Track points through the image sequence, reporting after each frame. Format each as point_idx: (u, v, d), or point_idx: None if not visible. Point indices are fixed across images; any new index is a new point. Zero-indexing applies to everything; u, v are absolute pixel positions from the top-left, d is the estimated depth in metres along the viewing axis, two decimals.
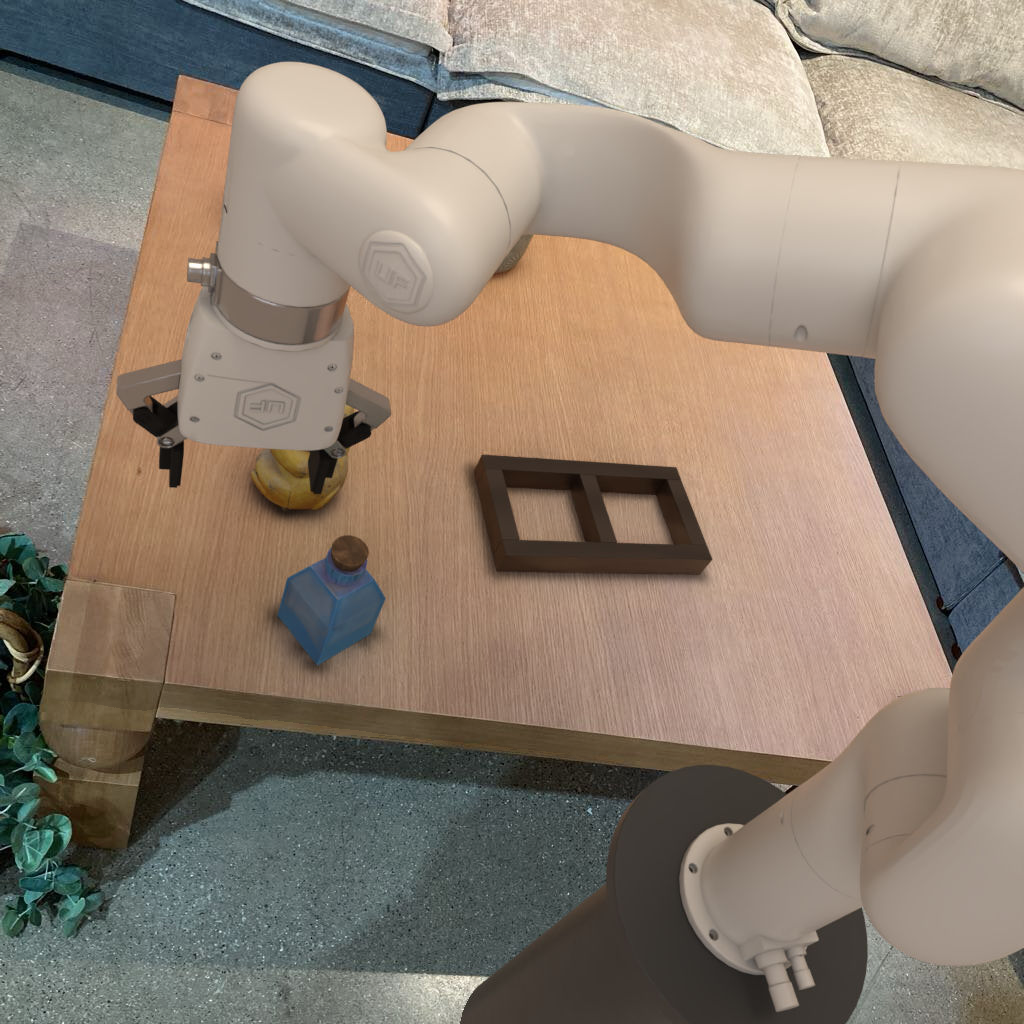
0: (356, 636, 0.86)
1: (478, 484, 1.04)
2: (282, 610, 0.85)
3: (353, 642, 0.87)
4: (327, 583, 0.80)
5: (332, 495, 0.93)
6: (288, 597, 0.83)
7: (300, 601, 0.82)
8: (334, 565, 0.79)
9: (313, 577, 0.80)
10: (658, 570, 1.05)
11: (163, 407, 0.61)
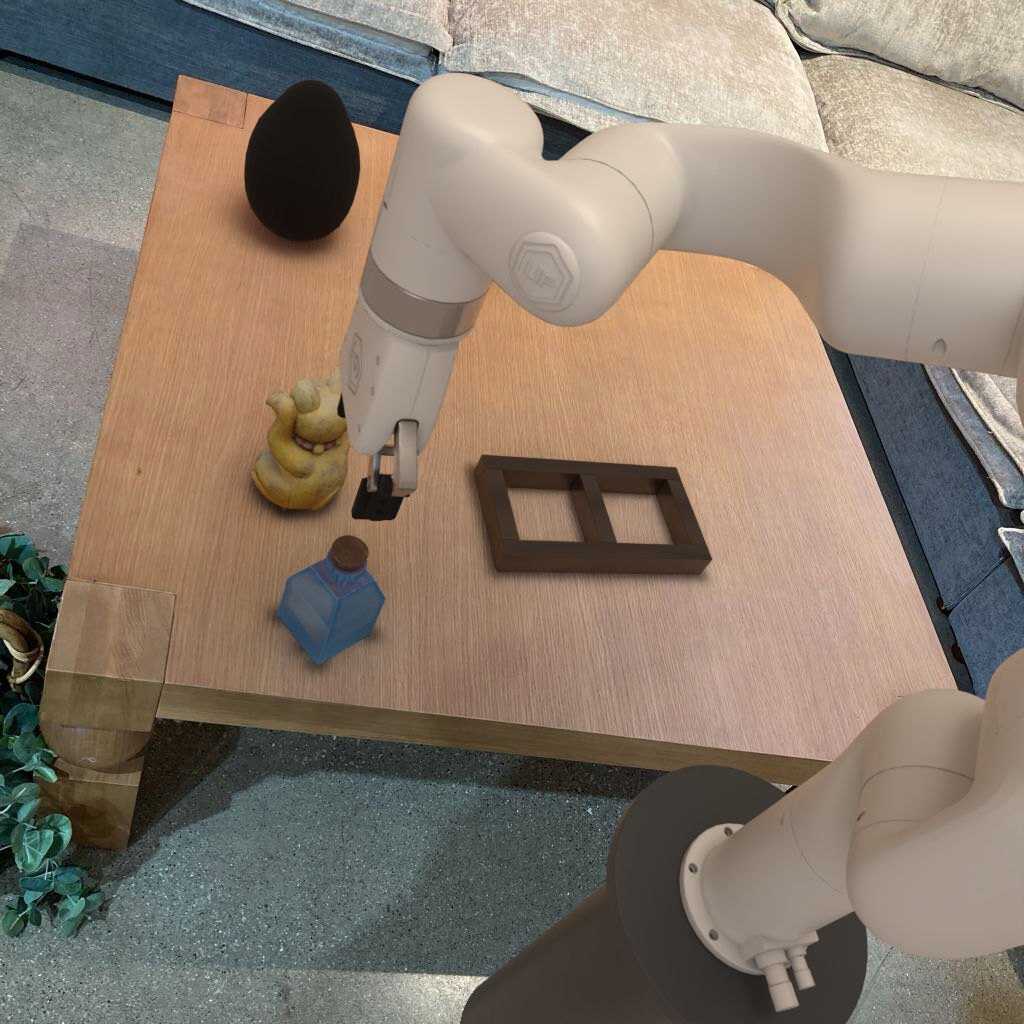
0: (356, 636, 0.86)
1: (478, 484, 1.04)
2: (282, 610, 0.85)
3: (353, 642, 0.87)
4: (327, 583, 0.80)
5: (332, 495, 0.93)
6: (288, 597, 0.83)
7: (300, 601, 0.82)
8: (334, 565, 0.79)
9: (313, 577, 0.80)
10: (658, 570, 1.05)
11: None
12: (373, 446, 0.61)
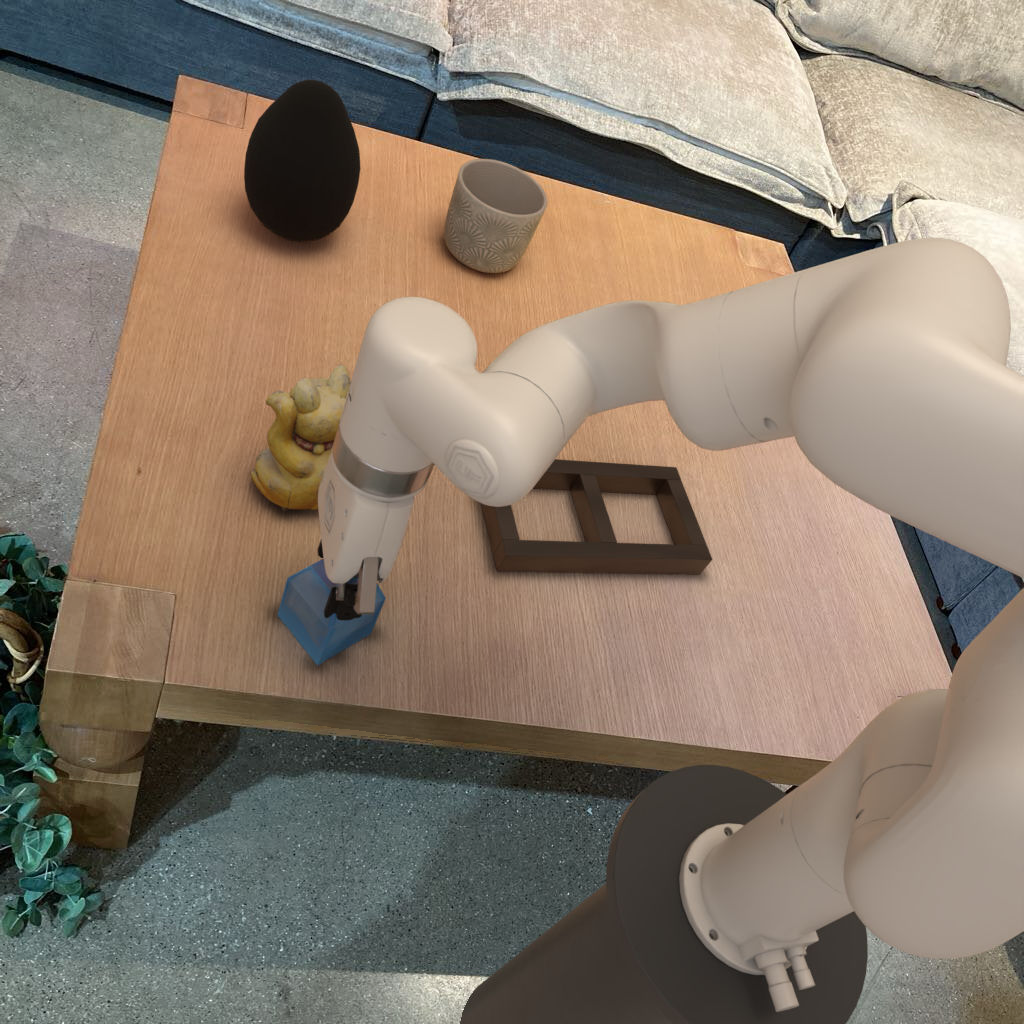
0: (356, 636, 0.86)
1: None
2: (282, 610, 0.85)
3: (353, 642, 0.87)
4: (327, 582, 0.80)
5: None
6: (288, 597, 0.83)
7: (300, 600, 0.82)
8: None
9: (314, 576, 0.81)
10: (658, 570, 1.05)
11: None
12: (344, 577, 0.73)
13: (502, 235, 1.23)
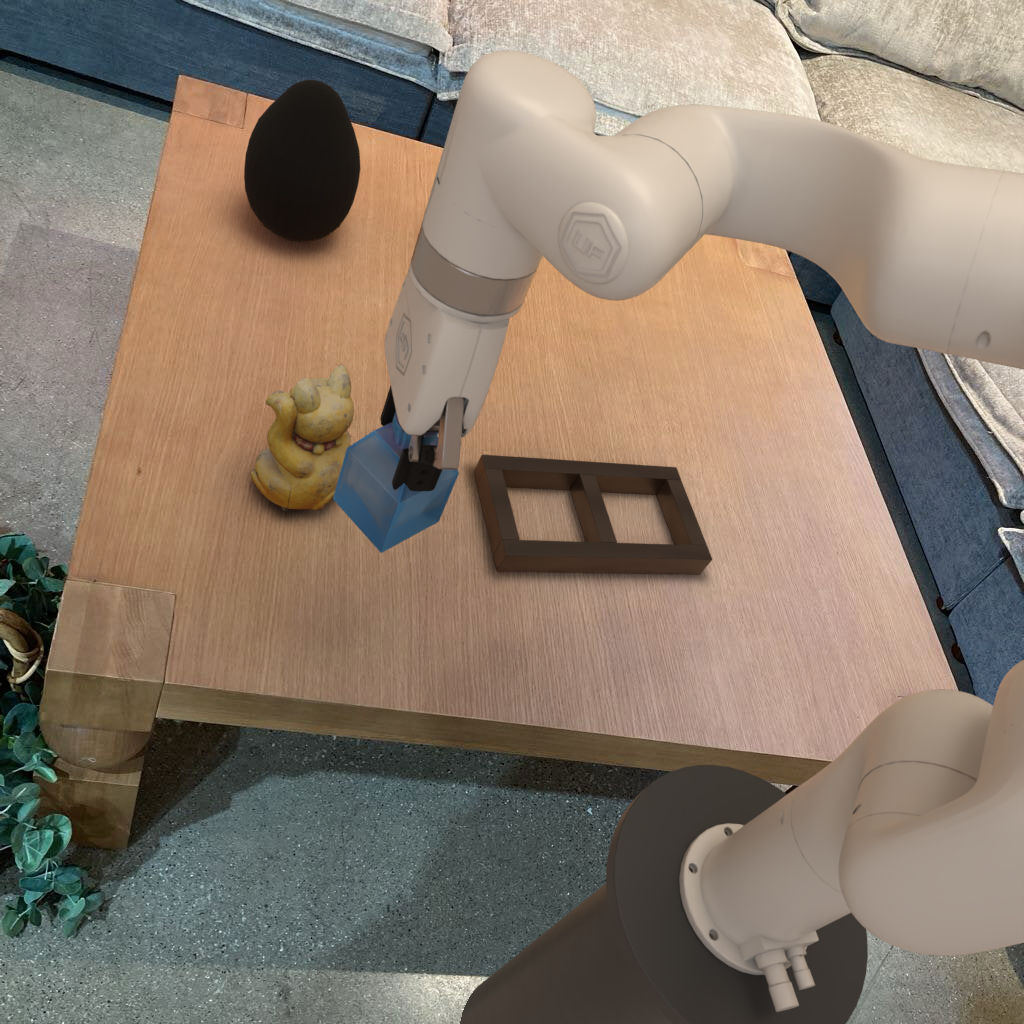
0: (424, 521, 0.75)
1: (478, 484, 1.04)
2: (339, 491, 0.74)
3: (420, 529, 0.76)
4: (395, 449, 0.69)
5: (332, 495, 0.93)
6: (348, 472, 0.72)
7: (362, 473, 0.71)
8: None
9: (379, 443, 0.69)
10: (658, 570, 1.05)
11: None
12: (423, 425, 0.62)
13: None
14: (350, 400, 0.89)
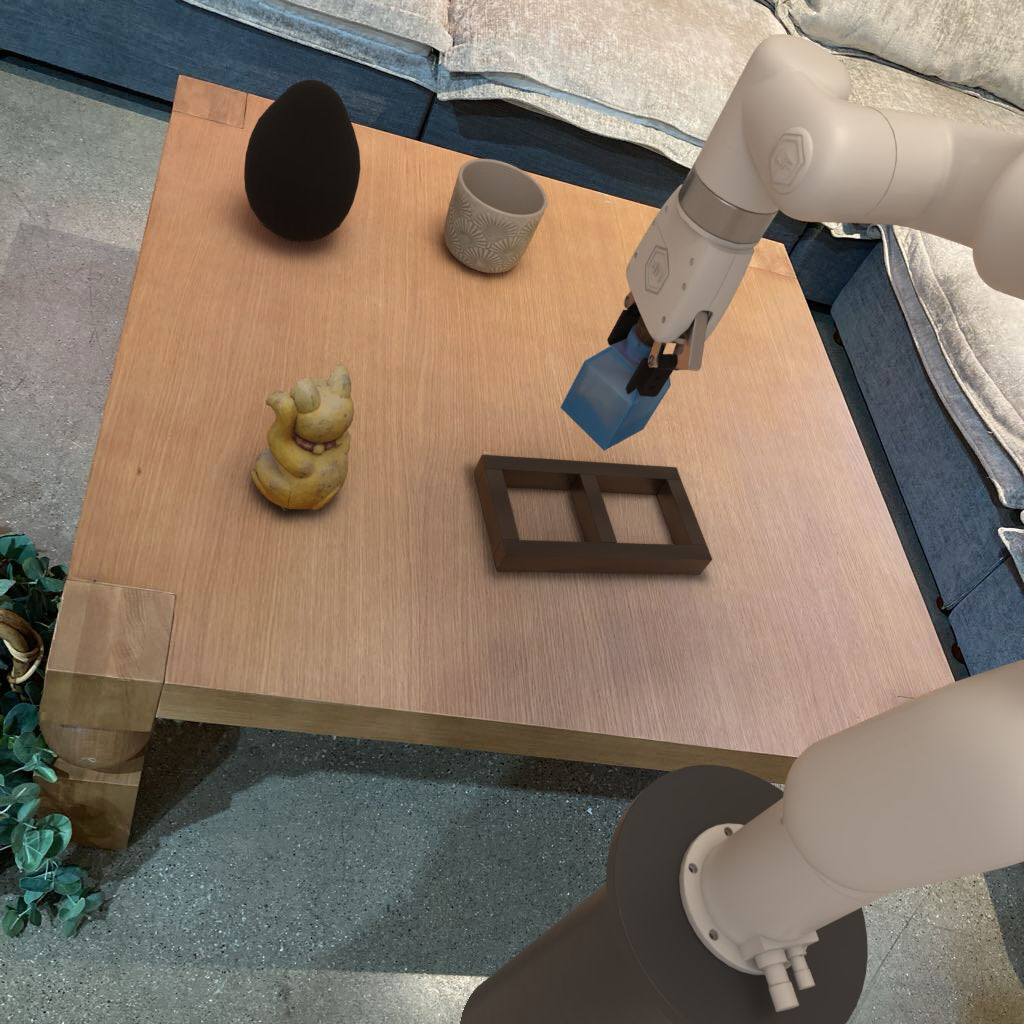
0: (636, 426, 0.91)
1: (478, 484, 1.04)
2: (568, 400, 0.90)
3: (631, 434, 0.92)
4: (628, 360, 0.85)
5: (332, 495, 0.93)
6: (581, 382, 0.88)
7: (597, 382, 0.87)
8: (640, 340, 0.83)
9: (614, 356, 0.85)
10: (658, 570, 1.05)
11: None
12: (673, 334, 0.77)
13: (502, 235, 1.23)
14: (350, 400, 0.89)
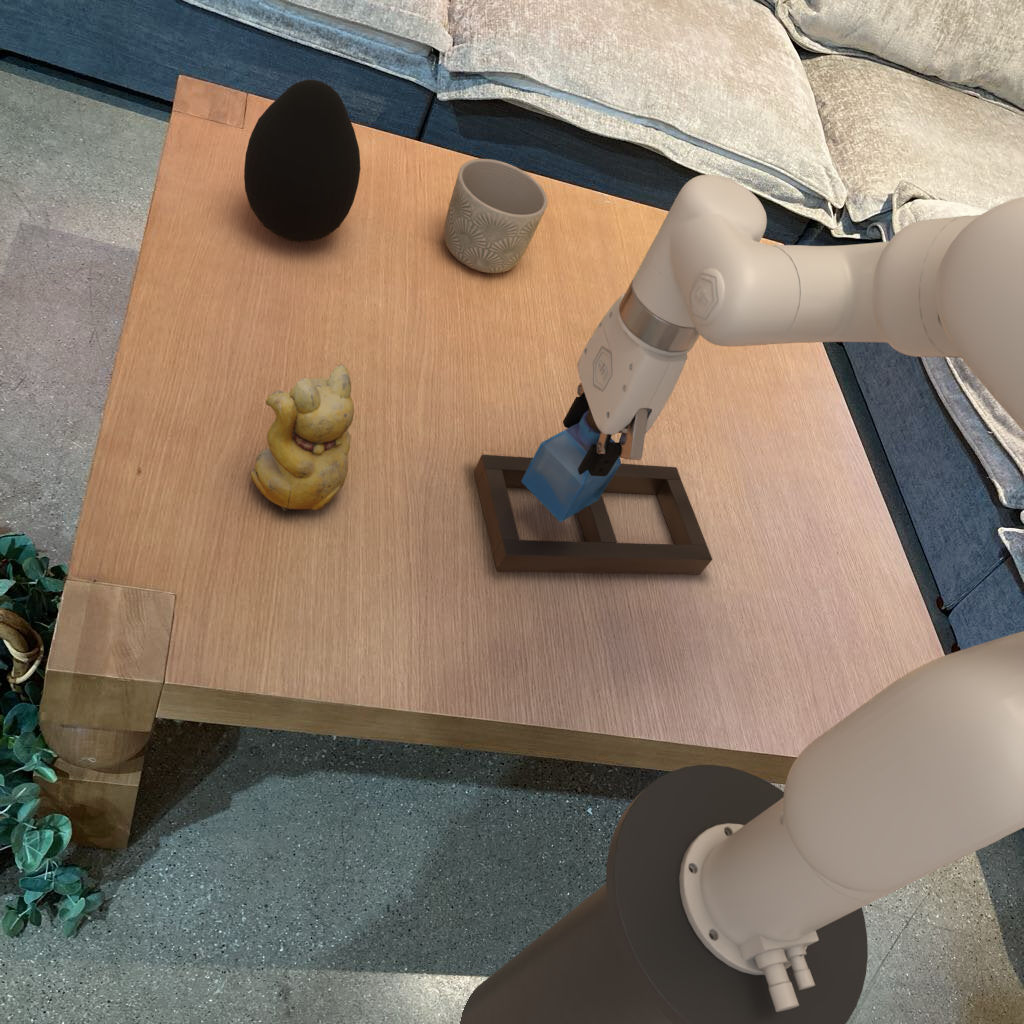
0: (590, 499, 0.99)
1: (478, 484, 1.04)
2: (528, 475, 0.98)
3: (586, 505, 1.00)
4: (580, 444, 0.93)
5: (332, 495, 0.93)
6: (539, 461, 0.96)
7: (552, 462, 0.95)
8: (590, 427, 0.92)
9: (568, 439, 0.93)
10: (658, 570, 1.05)
11: None
12: (617, 427, 0.86)
13: (502, 235, 1.23)
14: (350, 400, 0.89)
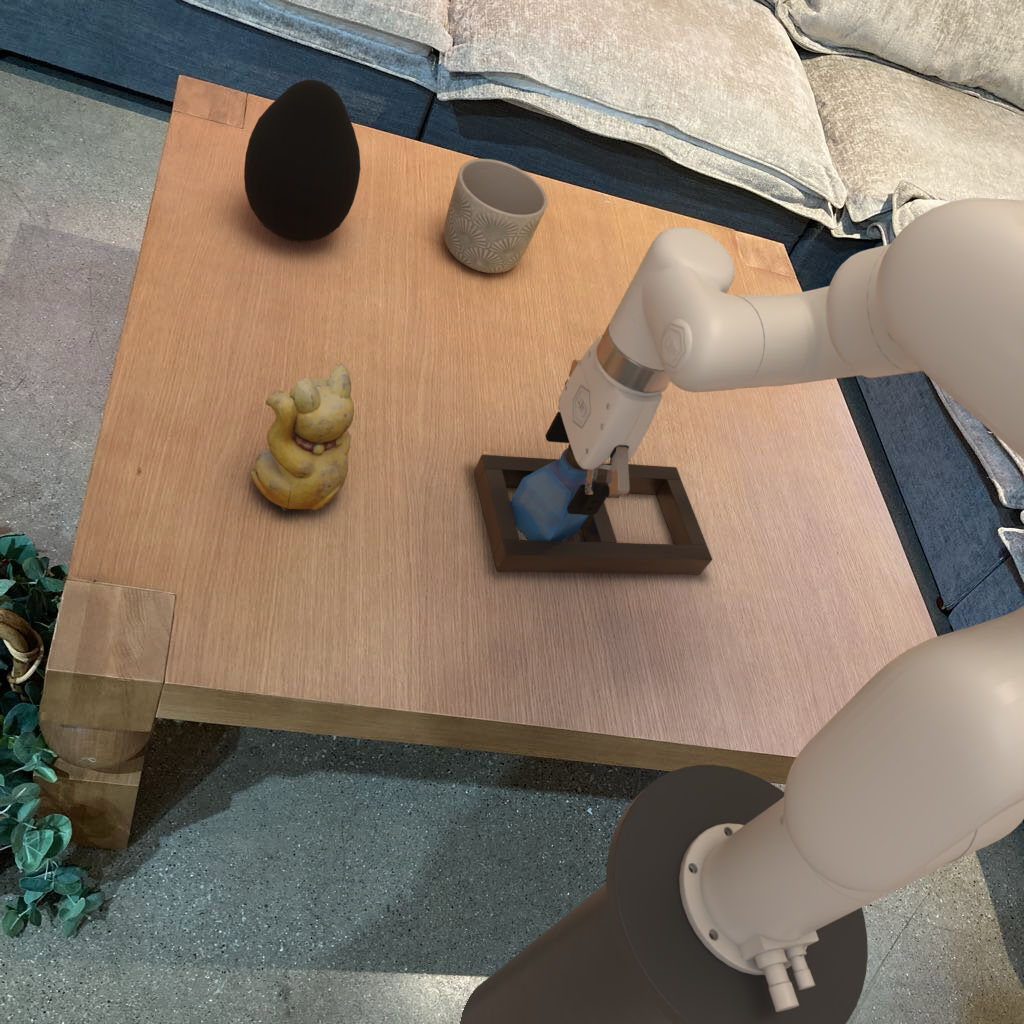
0: (571, 530, 1.03)
1: (478, 484, 1.04)
2: None
3: (567, 537, 1.04)
4: (560, 480, 0.97)
5: (332, 495, 0.93)
6: (521, 495, 1.00)
7: (534, 497, 0.99)
8: (569, 464, 0.96)
9: (548, 475, 0.97)
10: (658, 570, 1.05)
11: None
12: (595, 463, 0.89)
13: (502, 235, 1.23)
14: (350, 400, 0.89)
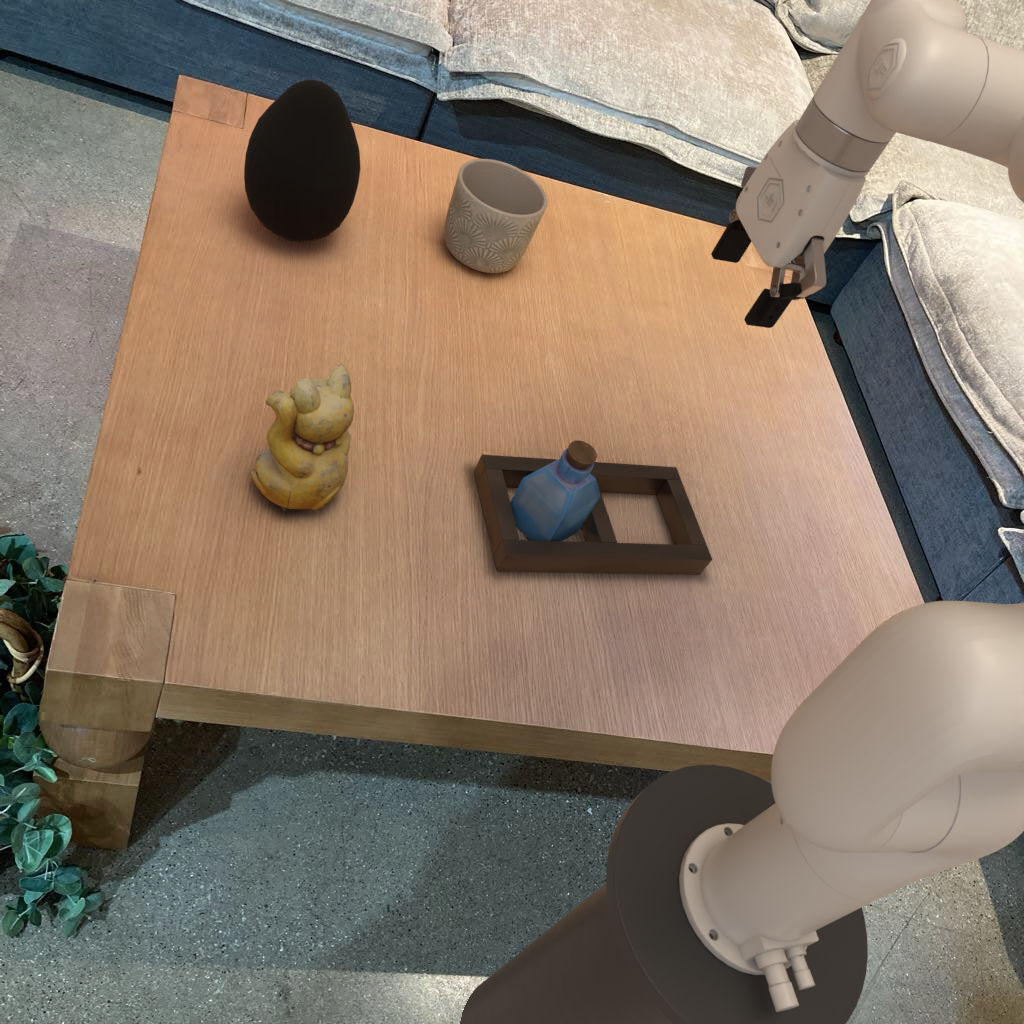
0: (571, 530, 1.03)
1: (478, 484, 1.04)
2: None
3: (567, 537, 1.04)
4: (560, 480, 0.97)
5: (332, 495, 0.93)
6: (521, 495, 1.00)
7: (534, 497, 0.99)
8: (569, 464, 0.96)
9: (548, 475, 0.97)
10: (658, 570, 1.05)
11: None
12: (786, 258, 0.84)
13: (502, 235, 1.23)
14: (350, 400, 0.89)
